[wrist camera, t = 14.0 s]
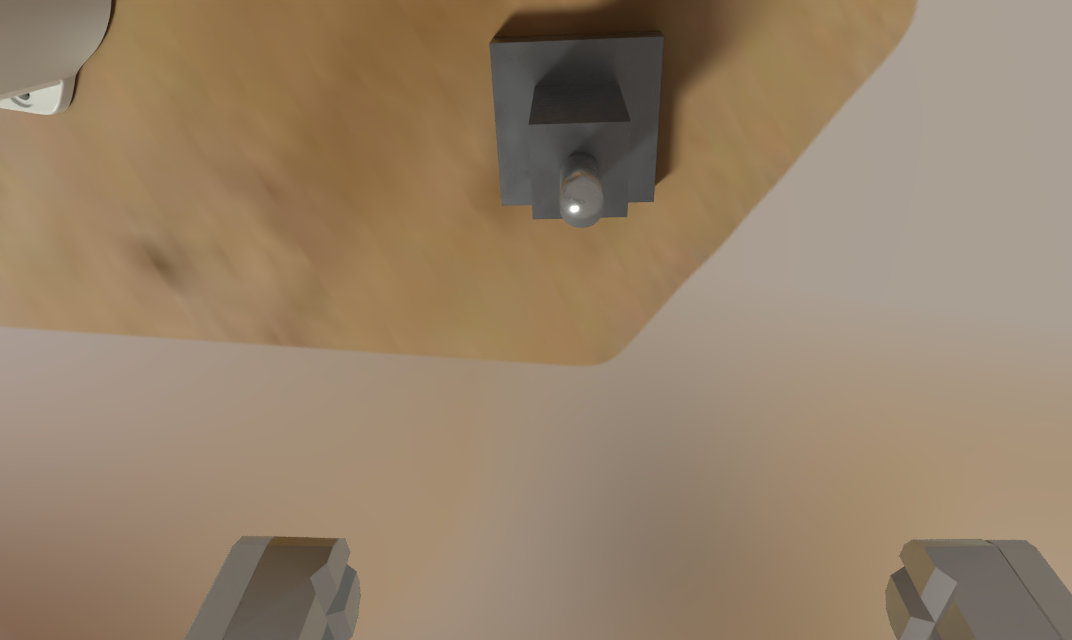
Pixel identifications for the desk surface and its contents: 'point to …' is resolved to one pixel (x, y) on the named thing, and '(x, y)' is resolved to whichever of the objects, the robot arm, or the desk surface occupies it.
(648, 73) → the stand
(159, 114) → the desk surface
